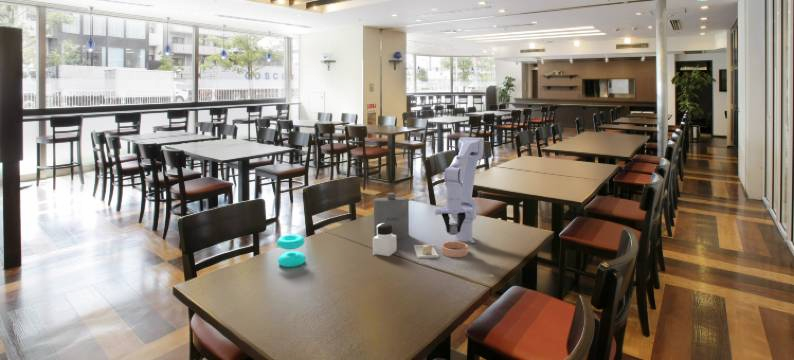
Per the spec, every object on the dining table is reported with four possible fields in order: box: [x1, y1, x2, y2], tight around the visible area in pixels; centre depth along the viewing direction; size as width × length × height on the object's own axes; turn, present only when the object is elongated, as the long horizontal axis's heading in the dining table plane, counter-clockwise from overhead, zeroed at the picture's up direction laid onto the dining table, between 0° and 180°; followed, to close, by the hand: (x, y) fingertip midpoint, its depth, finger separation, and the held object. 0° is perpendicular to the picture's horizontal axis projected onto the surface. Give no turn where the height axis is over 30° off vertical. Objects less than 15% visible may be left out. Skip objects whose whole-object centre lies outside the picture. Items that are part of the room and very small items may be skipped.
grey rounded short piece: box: [448, 222, 458, 236], centre depth 180 cm, size 4×4×4 cm
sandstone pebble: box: [422, 243, 432, 255], centre depth 177 cm, size 4×4×4 cm
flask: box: [373, 192, 410, 240], centre depth 197 cm, size 15×6×20 cm, turn 99°
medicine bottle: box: [372, 223, 397, 257], centre depth 180 cm, size 7×7×12 cm
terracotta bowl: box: [440, 240, 469, 258], centre depth 179 cm, size 10×10×4 cm
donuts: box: [276, 233, 307, 268], centre depth 171 cm, size 10×10×10 cm
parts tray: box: [413, 244, 440, 259], centre depth 180 cm, size 12×8×2 cm, turn 5°
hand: (453, 231), depth 180 cm, fingers closed on grey rounded short piece, 4 cm apart
